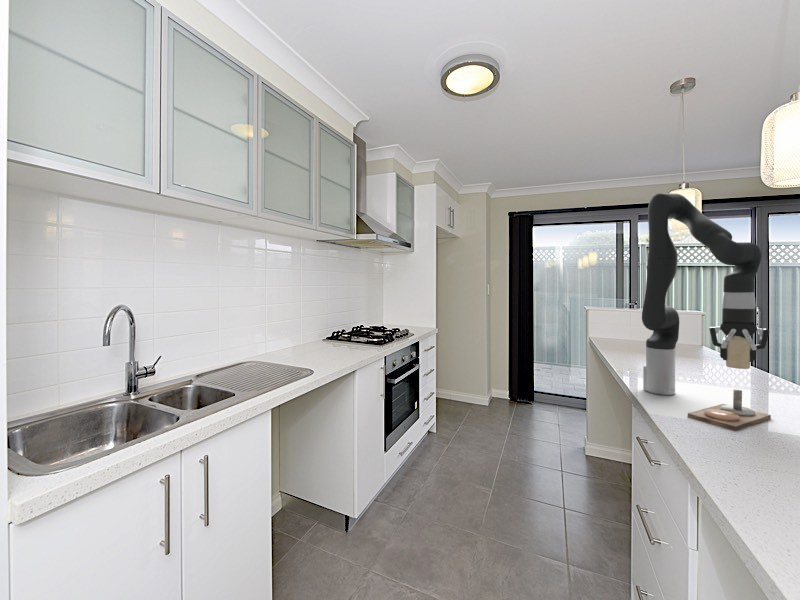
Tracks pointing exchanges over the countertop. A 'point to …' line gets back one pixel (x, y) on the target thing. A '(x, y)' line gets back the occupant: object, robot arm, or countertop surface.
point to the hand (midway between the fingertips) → (737, 360)
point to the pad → (722, 415)
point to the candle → (738, 353)
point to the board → (745, 414)
